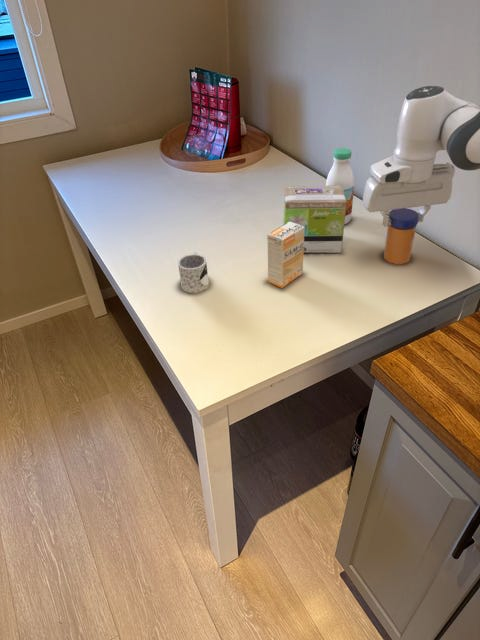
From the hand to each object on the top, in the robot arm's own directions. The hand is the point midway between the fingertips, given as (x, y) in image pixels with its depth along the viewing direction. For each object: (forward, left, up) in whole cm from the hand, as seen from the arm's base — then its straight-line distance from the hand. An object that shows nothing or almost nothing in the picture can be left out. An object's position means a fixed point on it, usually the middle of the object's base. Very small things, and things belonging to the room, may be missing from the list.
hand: (402, 223), depth 116 cm
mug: (+50, +10, -10) cm, 52 cm away
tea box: (+21, -7, -10) cm, 24 cm away
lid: (0, 0, +2) cm, 2 cm away
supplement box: (+28, +9, -10) cm, 31 cm away
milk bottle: (+13, -21, -10) cm, 27 cm away
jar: (0, 0, -10) cm, 10 cm away
